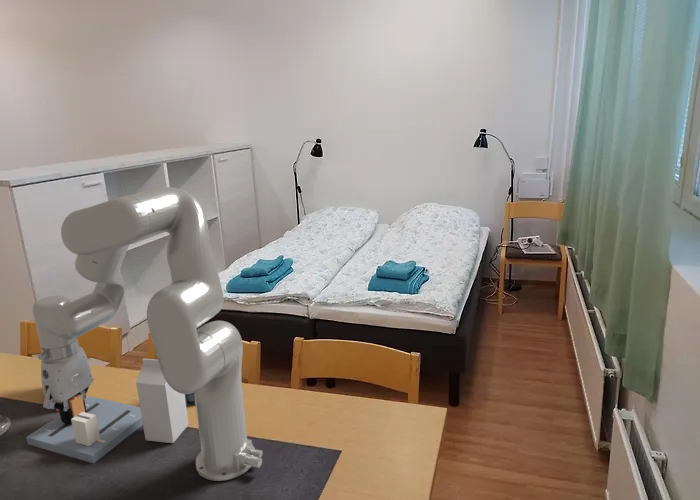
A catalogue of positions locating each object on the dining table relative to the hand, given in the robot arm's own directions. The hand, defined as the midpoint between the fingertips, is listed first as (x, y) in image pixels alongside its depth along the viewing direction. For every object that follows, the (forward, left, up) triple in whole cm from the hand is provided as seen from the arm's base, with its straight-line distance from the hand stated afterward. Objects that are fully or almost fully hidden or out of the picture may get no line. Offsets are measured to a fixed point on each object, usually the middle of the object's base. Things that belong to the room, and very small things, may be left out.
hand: (74, 417), depth 124 cm
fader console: (-5, 0, -2) cm, 6 cm away
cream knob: (-10, +5, 0) cm, 11 cm away
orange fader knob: (0, 0, 0) cm, 0 cm away
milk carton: (-23, -5, -3) cm, 24 cm away
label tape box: (-18, -18, -3) cm, 26 cm away
